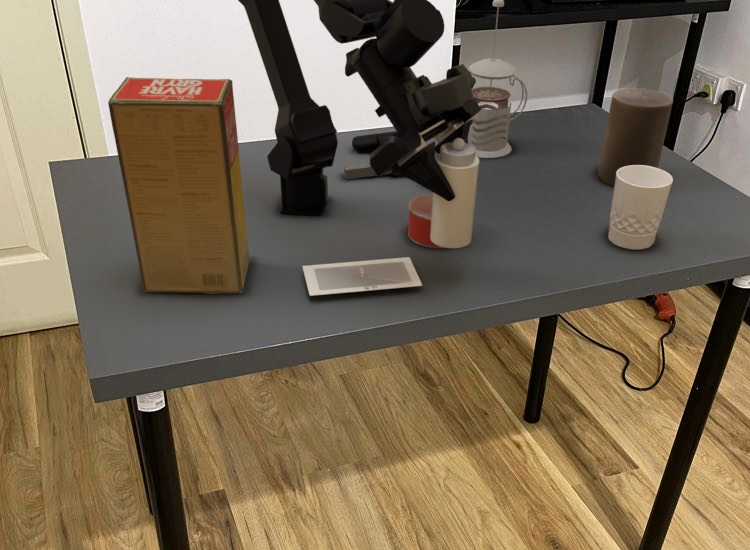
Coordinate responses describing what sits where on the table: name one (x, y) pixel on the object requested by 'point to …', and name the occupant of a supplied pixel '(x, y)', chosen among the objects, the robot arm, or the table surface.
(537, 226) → the table surface
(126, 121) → the food packaging
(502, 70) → the french press
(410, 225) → the sauce tin
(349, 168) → the door handle
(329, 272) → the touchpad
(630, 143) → the pillar candle
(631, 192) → the white cup
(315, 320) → the table surface
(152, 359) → the table surface
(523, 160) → the table surface
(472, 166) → the pepper mill
